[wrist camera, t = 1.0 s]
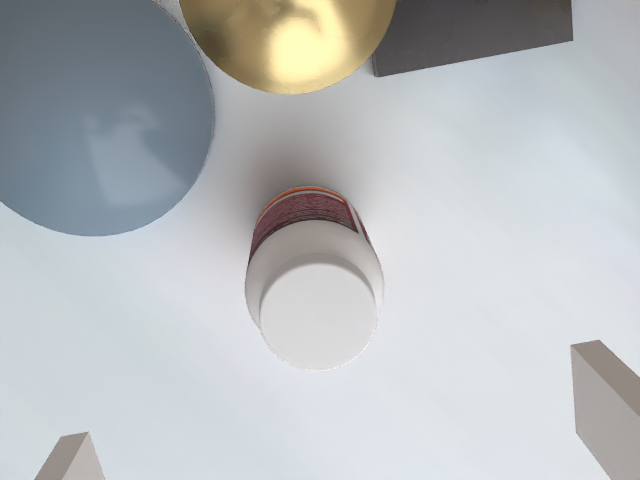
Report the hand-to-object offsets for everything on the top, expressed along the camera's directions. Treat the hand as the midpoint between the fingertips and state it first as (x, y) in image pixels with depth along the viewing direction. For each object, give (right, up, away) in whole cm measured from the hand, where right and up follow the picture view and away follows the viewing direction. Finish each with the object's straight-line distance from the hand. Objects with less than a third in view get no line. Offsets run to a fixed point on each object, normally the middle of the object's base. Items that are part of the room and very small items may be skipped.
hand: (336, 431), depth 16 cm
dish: (-12, +12, +15) cm, 23 cm away
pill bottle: (-1, +5, +18) cm, 19 cm away
